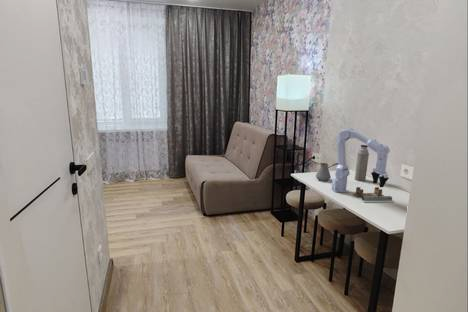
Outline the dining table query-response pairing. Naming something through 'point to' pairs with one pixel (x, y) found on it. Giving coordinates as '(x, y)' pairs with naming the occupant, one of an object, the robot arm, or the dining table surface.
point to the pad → (376, 201)
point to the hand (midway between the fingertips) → (378, 185)
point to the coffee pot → (324, 172)
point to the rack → (360, 193)
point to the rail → (376, 198)
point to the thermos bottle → (362, 163)
